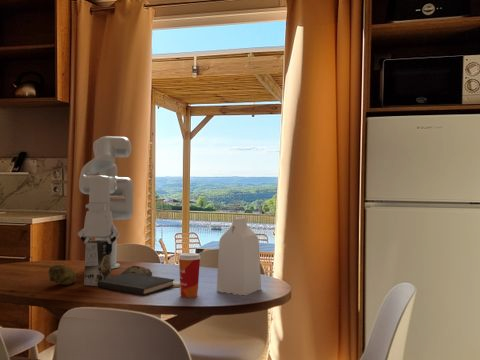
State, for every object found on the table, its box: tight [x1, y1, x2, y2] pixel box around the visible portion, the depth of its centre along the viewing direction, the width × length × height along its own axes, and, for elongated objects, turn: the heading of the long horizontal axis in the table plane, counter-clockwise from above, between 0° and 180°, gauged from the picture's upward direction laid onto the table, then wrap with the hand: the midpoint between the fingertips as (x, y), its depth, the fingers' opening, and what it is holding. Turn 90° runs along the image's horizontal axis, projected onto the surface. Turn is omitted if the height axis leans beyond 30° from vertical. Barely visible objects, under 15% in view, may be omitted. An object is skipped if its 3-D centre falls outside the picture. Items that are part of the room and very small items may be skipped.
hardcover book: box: [97, 273, 175, 296], centre depth 155 cm, size 16×23×2 cm
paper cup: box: [177, 252, 202, 299], centre depth 143 cm, size 8×8×14 cm
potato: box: [47, 264, 77, 286], centre depth 158 cm, size 8×13×8 cm, turn 153°
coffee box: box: [83, 240, 112, 287], centre depth 161 cm, size 9×6×16 cm
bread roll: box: [119, 265, 153, 276], centre depth 174 cm, size 13×12×5 cm
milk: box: [216, 217, 262, 296], centre depth 153 cm, size 12×12×26 cm
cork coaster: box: [170, 281, 180, 289], centre depth 159 cm, size 8×8×1 cm
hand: (98, 253), depth 162 cm, fingers closed on coffee box, 7 cm apart
